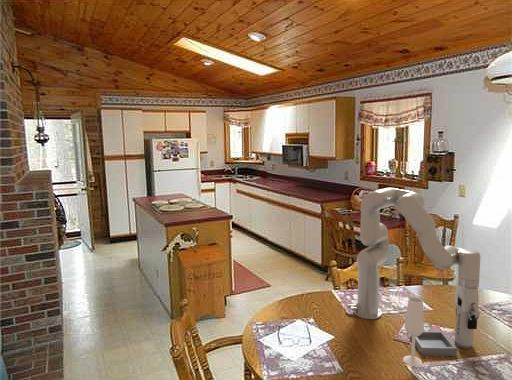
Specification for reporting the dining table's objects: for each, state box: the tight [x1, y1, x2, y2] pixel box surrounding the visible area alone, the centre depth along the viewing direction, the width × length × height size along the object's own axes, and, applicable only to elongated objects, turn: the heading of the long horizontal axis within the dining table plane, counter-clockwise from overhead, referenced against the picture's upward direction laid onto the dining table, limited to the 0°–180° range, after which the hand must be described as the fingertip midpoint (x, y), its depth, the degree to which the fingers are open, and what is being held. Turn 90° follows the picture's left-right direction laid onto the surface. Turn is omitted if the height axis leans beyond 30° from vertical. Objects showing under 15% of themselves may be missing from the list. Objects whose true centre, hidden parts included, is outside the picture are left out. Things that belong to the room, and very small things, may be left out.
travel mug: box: [454, 297, 475, 349], centre depth 153 cm, size 6×7×20 cm
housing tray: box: [409, 330, 458, 357], centre depth 153 cm, size 13×13×3 cm
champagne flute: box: [402, 296, 425, 367], centre depth 142 cm, size 7×7×24 cm
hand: (465, 322), depth 153 cm, fingers open, 9 cm apart
